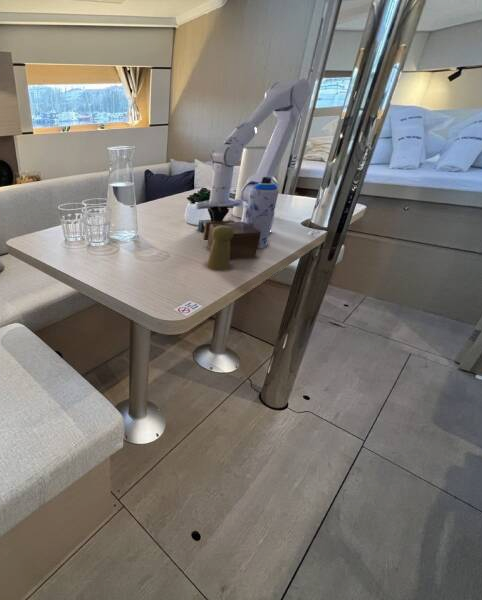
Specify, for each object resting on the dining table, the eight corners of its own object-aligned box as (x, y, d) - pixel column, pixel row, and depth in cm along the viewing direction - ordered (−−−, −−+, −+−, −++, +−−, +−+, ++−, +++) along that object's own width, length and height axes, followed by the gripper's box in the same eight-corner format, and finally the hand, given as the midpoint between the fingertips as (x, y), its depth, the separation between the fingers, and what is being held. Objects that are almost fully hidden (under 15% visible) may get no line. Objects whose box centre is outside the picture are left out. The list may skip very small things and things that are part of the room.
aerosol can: (243, 238, 105) (255, 174, 95) (269, 242, 101) (284, 175, 91) (237, 245, 100) (249, 178, 90) (264, 249, 95) (280, 180, 86)
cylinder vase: (264, 212, 131) (279, 145, 119) (267, 220, 121) (283, 148, 109) (232, 211, 135) (243, 146, 123) (232, 218, 125) (243, 149, 113)
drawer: (197, 234, 108) (199, 217, 105) (223, 232, 108) (226, 216, 105) (214, 249, 95) (217, 230, 92) (243, 247, 96) (247, 228, 93)
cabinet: (206, 247, 99) (209, 223, 96) (238, 245, 100) (242, 221, 96) (220, 260, 90) (224, 234, 86) (255, 257, 91) (261, 231, 87)
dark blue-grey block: (213, 228, 116) (215, 219, 114) (217, 231, 113) (218, 221, 111) (197, 229, 115) (198, 220, 114) (200, 232, 113) (201, 222, 111)
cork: (226, 272, 83) (233, 231, 78) (203, 268, 86) (208, 228, 81) (231, 263, 88) (238, 224, 82) (209, 260, 91) (214, 222, 85)
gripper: (202, 190, 94) (197, 235, 101) (250, 187, 94) (242, 231, 101) (194, 186, 100) (190, 228, 107) (239, 183, 101) (232, 225, 107)
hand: (215, 229), depth 104 cm, fingers closed, pressing on drawer
